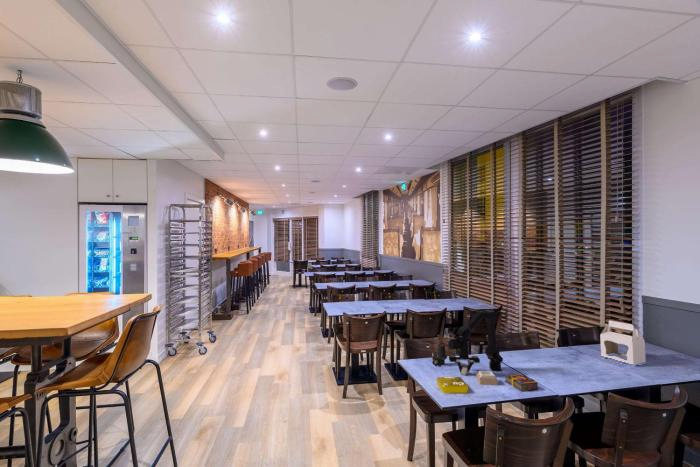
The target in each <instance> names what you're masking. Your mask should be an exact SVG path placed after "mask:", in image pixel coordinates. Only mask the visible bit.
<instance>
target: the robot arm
mask: <svg viewBox="0 0 700 467" xmlns="http://www.w3.org/2000/svg"><path fill="white" fill-rule="evenodd" d="M483 319H484V321H485V322H486V326H487V343H488V344H487V346H486V347H485V348H484V350H485V354H486V357H487V359H488V360H489V362H488V366H489V369H490V371H492V372H503V371H502V366H501V365H502V364H501V363H502V362H503V361H504V358H503V357H502V356H501V354H500V350H499V348H498V346H497V335H496V333H497V332H496V323H497V321H498V313H497V312H496V311H493V310H488V309H487V310H485V311H484V310H482V311H481V310H478V311H476V313H475V314H474V315H473V316H472V317H471V319H469V321H468V322H467V323H466V324H464V325H462V326H460V327H459V328H458V329H457V331H456V333H455V335H454V337H453V338H450V339H449V341H448V342H447V345H448V349H450V351H451V350H453V351H454V350H455V351H454V354H456V355H458V356H456V355H453V354H449V356H448V360H449V363H455V364H456V365H457V367H458V369H459V372H460V373H461V362H460V361H467V365H468V374H469V372H470V370H471V368H472V366H473V365H475V363H477V364H478V363H479V364H480V363H481V361H480V357H479V356H478V355H471V356H470V357H469V353H470V352H469V342H471V341H472V340H471V339H470V337H471V334H472V330H474V328H475V327H476V326H477V325H478V324H479V323H480V322H481V320H483Z"/></svg>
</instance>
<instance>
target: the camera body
mask: <svg viewBox="0 0 700 467" xmlns="http://www.w3.org/2000/svg"><path fill="white" fill-rule="evenodd" d="M476 381H477V382H478V383H479V385H481V386H483V385H485V386H498V377H497V376H496V375H495V374H494V372H493V371H492V370H490V371H489V370H479V371H478V372H476Z"/></svg>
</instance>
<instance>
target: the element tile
mask: <svg viewBox="0 0 700 467" xmlns="http://www.w3.org/2000/svg"><path fill="white" fill-rule="evenodd" d="M436 385H437V387H438V389H439V390H440V392H441V393H443V394H468V393H469V385H468V384H467V383H466V382H465V380H463V378H462V377H460V376H437V377H436Z"/></svg>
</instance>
